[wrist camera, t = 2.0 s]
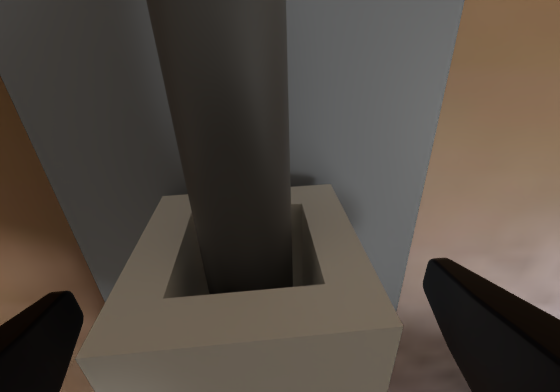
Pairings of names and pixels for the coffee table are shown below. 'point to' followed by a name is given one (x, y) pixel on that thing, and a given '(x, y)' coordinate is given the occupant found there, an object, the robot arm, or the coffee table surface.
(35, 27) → the grey rod slide mechanism
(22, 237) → the coffee table surface
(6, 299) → the coffee table surface
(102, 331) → the sleeve
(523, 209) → the coffee table surface
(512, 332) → the robot arm
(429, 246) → the coffee table surface
